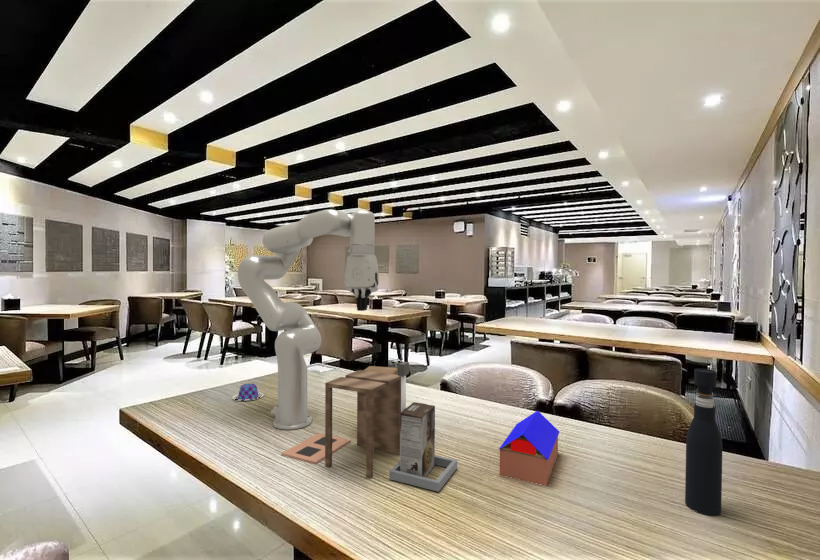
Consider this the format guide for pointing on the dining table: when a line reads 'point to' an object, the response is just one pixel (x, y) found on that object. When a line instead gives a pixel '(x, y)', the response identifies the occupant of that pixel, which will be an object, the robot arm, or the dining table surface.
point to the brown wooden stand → (369, 413)
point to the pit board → (314, 448)
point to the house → (530, 450)
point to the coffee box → (417, 439)
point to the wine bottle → (704, 450)
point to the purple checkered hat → (248, 392)
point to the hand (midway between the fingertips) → (362, 310)
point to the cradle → (441, 461)
